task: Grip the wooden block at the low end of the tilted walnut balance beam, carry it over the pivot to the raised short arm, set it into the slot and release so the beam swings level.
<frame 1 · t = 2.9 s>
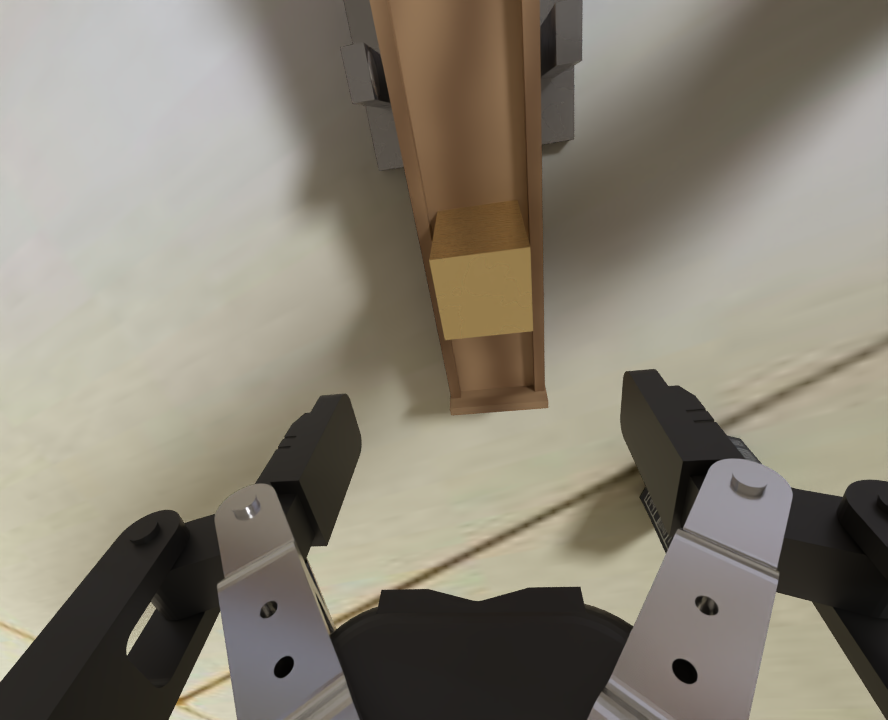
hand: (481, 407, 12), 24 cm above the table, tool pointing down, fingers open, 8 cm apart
wooden block: (481, 243, 27), point 6 cm above the table, tilted 9°, touching beam
pivot stand: (465, 73, 28), on the table
beam: (469, 143, 23), point 8 cm above the table, hinge at -9.4°, touching wooden block
small box: (687, 468, 44), on the table
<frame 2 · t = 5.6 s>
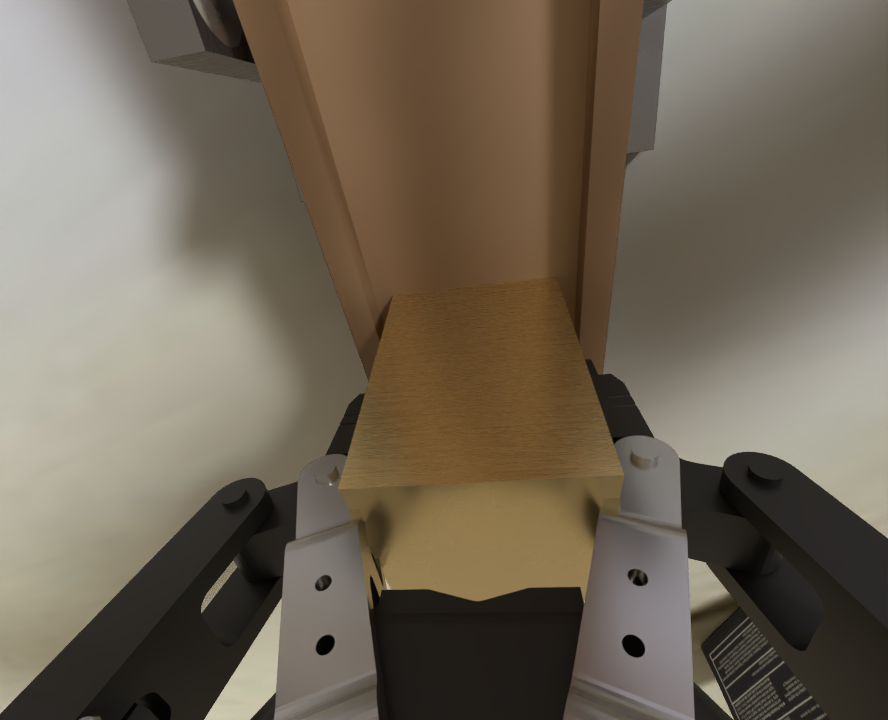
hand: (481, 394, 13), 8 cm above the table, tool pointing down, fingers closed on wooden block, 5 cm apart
wooden block: (480, 350, 14), point 6 cm above the table, tilted 9°, touching beam, gripper
pivot stand: (452, 24, 15), on the table
beam: (456, 162, 10), point 8 cm above the table, hinge at -9.4°, touching wooden block
small box: (773, 615, 31), on the table
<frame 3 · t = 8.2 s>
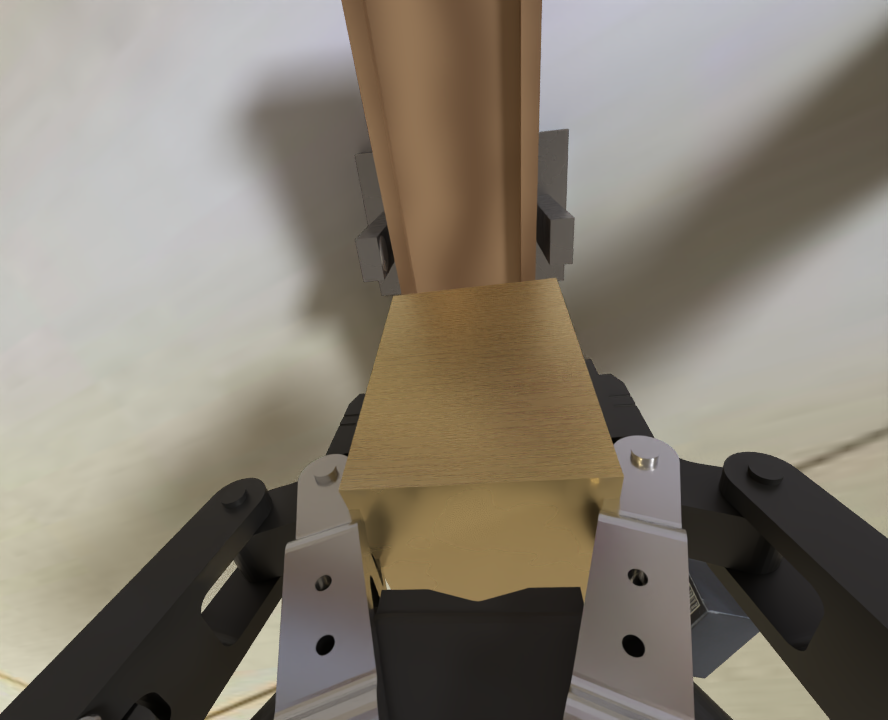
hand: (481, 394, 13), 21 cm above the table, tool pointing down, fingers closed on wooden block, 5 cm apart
wooden block: (480, 351, 14), point 19 cm above the table, tilted 9°, touching gripper
pivot stand: (465, 218, 30), on the table
beam: (469, 309, 26), point 8 cm above the table, hinge at -9.4°
small box: (659, 546, 47), on the table
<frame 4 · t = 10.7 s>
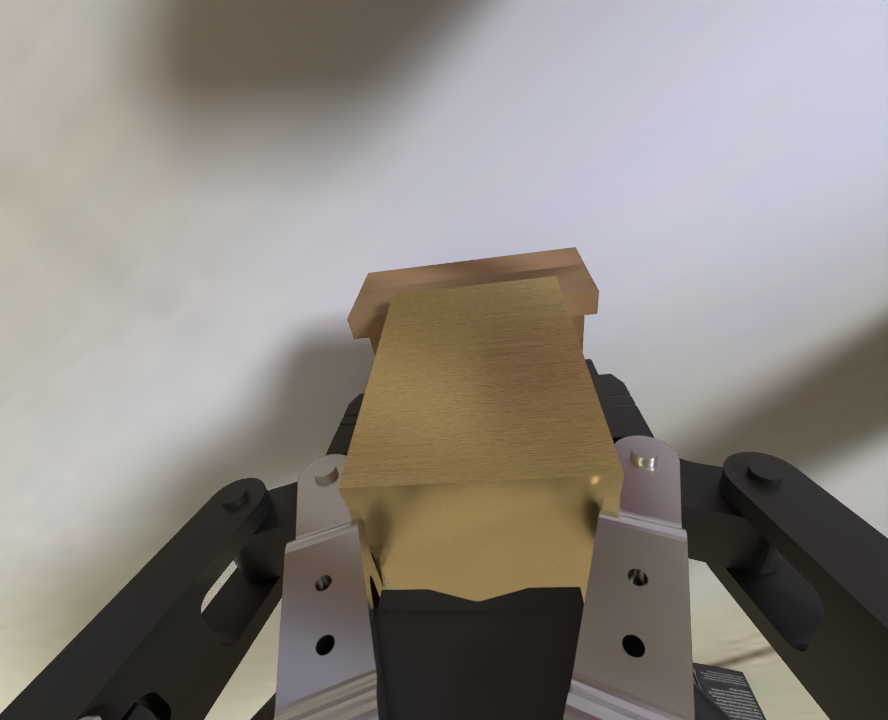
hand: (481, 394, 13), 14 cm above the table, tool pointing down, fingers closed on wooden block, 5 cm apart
wooden block: (480, 349, 14), point 12 cm above the table, tilted 10°, touching beam, gripper
beam: (505, 567, 26), point 8 cm above the table, hinge at -7.5°, touching wooden block
small box: (692, 686, 47), on the table
when the fingers open (14 cm above the table, at t = 11.3 s): wooden block moves 2 cm and tips over, resting on beam.
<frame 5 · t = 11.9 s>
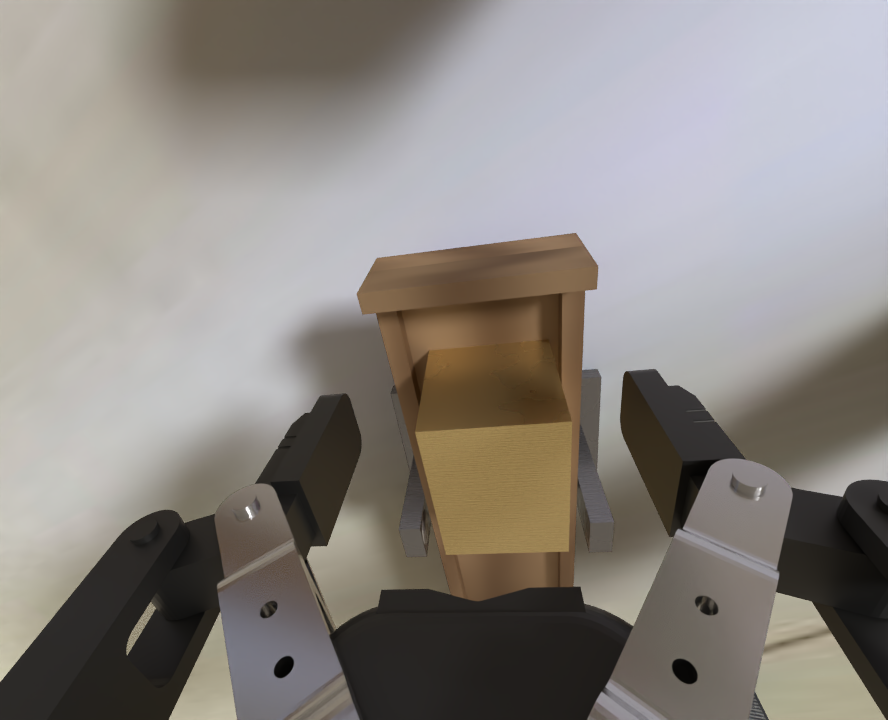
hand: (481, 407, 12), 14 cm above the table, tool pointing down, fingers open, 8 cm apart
wooden block: (489, 380, 15), point 11 cm above the table, tilted 94°, touching beam
pivot stand: (497, 434, 31), on the table
beam: (508, 566, 26), point 8 cm above the table, hinge at -4.1°, touching wooden block
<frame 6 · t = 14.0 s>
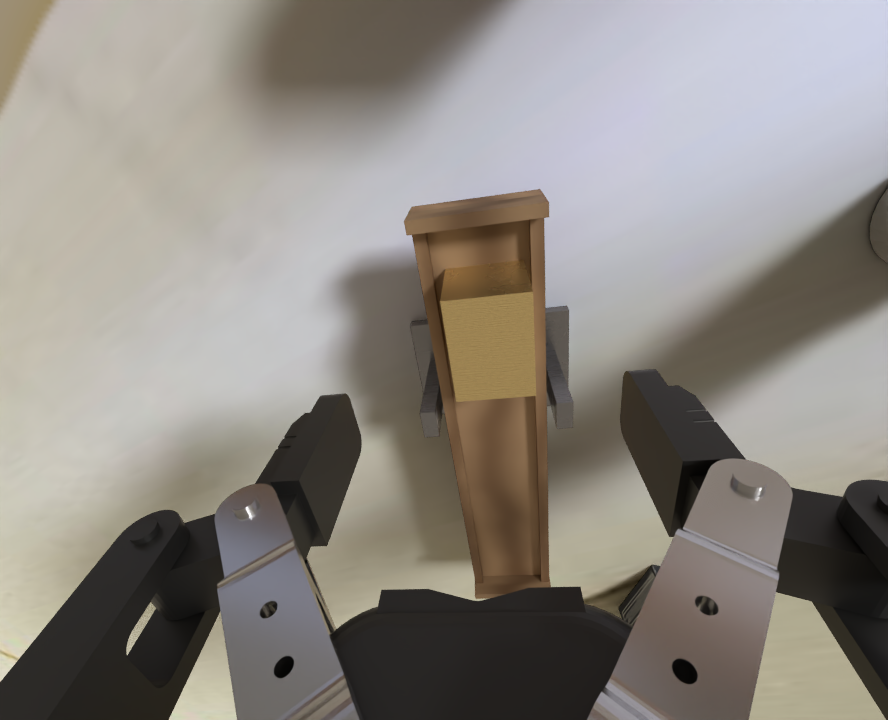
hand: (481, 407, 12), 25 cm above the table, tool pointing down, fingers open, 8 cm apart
wooden block: (484, 279, 24), point 11 cm above the table, tilted 93°, touching beam
pivot stand: (491, 361, 40), on the table
beam: (499, 450, 35), point 8 cm above the table, hinge at -3.0°, touching wooden block
small box: (655, 589, 56), on the table
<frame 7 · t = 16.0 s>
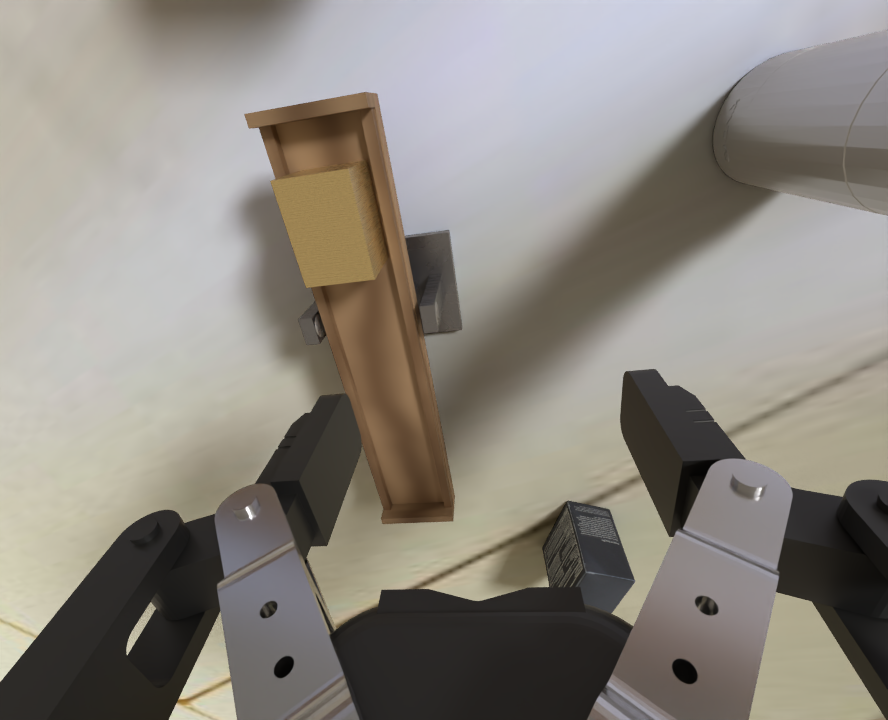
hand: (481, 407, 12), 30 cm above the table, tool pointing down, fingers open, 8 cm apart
wooden block: (321, 169, 27), point 11 cm above the table, tilted 92°, touching beam
pivot stand: (388, 288, 43), on the table
beam: (380, 361, 37), point 8 cm above the table, hinge at -1.7°, touching wooden block
small box: (575, 528, 59), on the table
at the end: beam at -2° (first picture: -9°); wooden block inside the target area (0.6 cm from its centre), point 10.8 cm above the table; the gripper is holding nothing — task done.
